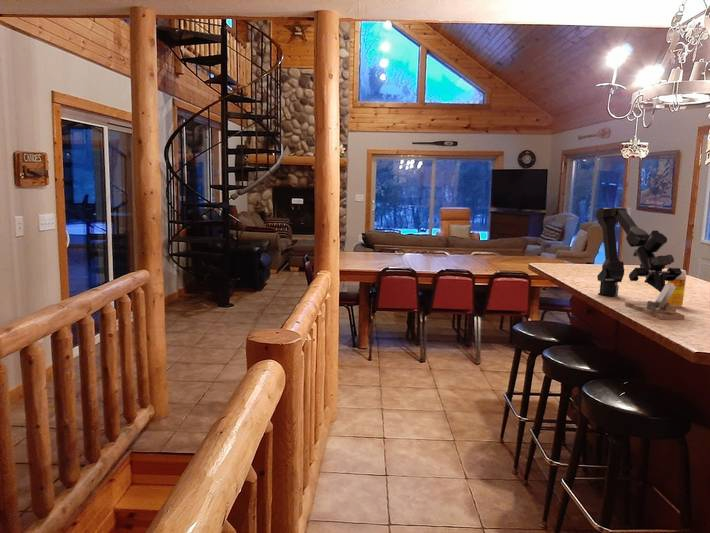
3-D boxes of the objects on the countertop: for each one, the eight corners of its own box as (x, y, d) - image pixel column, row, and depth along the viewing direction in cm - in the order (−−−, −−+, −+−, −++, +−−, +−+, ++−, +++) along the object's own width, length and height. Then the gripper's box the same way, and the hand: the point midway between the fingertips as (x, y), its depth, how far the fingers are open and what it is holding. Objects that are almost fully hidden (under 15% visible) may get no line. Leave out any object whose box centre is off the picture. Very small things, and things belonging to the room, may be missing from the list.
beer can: (673, 308, 213) (678, 271, 211) (661, 304, 219) (665, 268, 217) (685, 307, 215) (690, 271, 213) (673, 303, 221) (677, 268, 218)
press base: (624, 305, 216) (625, 293, 215) (645, 305, 217) (646, 293, 216) (661, 319, 195) (663, 306, 194) (684, 319, 196) (685, 306, 195)
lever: (651, 305, 204) (665, 283, 197) (659, 305, 204) (673, 283, 197) (654, 309, 202) (668, 287, 195) (663, 309, 203) (677, 287, 195)
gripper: (636, 246, 201) (652, 281, 192) (682, 247, 203) (699, 281, 195) (622, 263, 210) (636, 297, 201) (665, 263, 212) (681, 296, 204)
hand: (663, 292), depth 200 cm, fingers closed, pressing on lever
